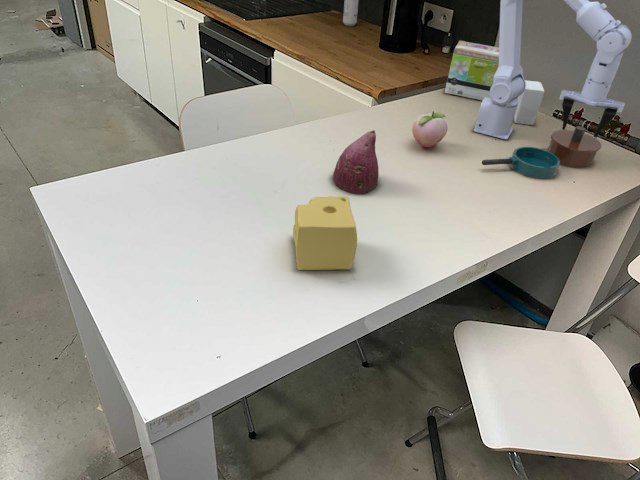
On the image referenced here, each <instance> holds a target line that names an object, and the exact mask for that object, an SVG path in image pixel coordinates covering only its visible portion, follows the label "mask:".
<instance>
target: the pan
mask: <svg viewBox="0 0 640 480" xmlns="http://www.w3.org/2000/svg"><path fill="white" fill-rule="evenodd" d="M511 157H515V158H516V159H517V160H518V163H517V165H512V164H510V167H511V168H512V170H514V171H515V172H517V173H518V174H521V175H523V176H525V177H527V178H528V177H529V178H533V179H538V180H539V179H541V180H544V179H545V180H546V179H552V178H554V177H555V176H556V174H557V172H558V171H559V170H558V169H559V167H560V165H561V164H560V160H559V158H558V157H557V156H556V155H555V154H553V153H551V152H549V151H548V149H547V150H546V149H544V148H539V147H535V146H520V147H517V148H515V149H513V152H512V156H511Z"/></svg>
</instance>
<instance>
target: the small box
mask: <svg viewBox="0 0 640 480" xmlns="http://www.w3.org/2000/svg"><path fill="white" fill-rule="evenodd" d="M524 80H525V82H526V88H525V91H524V92H523V93H522V94H521V95H520V96H518V105H517V109H516V112H515V115H514V118H513V122H514V123H515V124H519V125H520V124H521V125H529V126H534V125H535V124H536V120H537V117H538V114H539V111H540V108H541V104H542V101H543V99H544V95H545V88H544V86H543V84H542V82H541V81H534V80H526V79H524Z"/></svg>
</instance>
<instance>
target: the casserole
mask: <svg viewBox="0 0 640 480" xmlns="http://www.w3.org/2000/svg"><path fill="white" fill-rule="evenodd" d="M547 151H549V152H551V153H553V154H555V155H556V156H557V157H558V158H559V160H560V164H559V165H562V166H565V167H569V168H573V169H585V168H586V169H587V168H588V167H590V166H592V165H593V162H594V161H595V157H596V155H597V153H598V151H596V152H592V153H583V152H576V151H572V150H569V149H566V148H563V147H561V146H559V145H558V144H556V143H555V142H554V141H553V140H552V139H551V140H550V142H549V145H548V148H547Z"/></svg>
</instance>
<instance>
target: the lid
mask: <svg viewBox="0 0 640 480" xmlns="http://www.w3.org/2000/svg"><path fill="white" fill-rule="evenodd" d="M550 139H551V140H553V141H554V142H555V143H556V144H558V145H559V146H561V147H563V148H566V149H569V150H572V151H576V152H583V153H592V152H596V151H597V152H599V151H600V150H601V148H602V143H601V142H600V140H598V138H596V137H594V136H592V135H590V134H588V133H586V128H585V127H584V126H580V125H577V126H575V128H574V130H571V129H565V130H563V129H558V130H555V131H553V132H552V133H551V135H550Z"/></svg>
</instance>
